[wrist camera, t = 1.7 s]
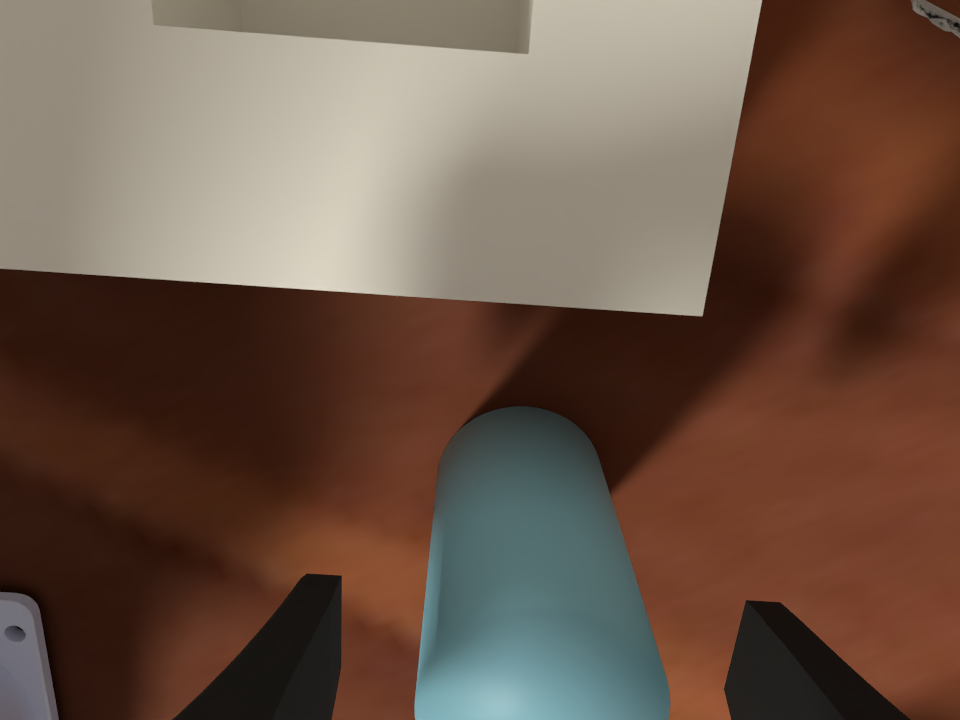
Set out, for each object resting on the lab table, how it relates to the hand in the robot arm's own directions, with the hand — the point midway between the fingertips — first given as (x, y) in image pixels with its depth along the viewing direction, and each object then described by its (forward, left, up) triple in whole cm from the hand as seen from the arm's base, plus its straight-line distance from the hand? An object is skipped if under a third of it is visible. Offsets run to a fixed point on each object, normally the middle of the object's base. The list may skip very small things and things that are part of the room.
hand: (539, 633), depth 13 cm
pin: (0, 0, -5) cm, 5 cm away
